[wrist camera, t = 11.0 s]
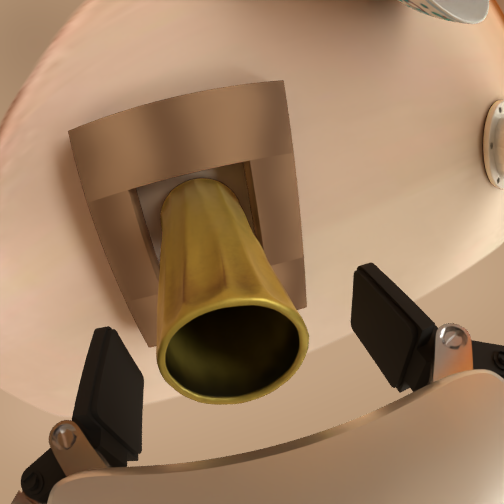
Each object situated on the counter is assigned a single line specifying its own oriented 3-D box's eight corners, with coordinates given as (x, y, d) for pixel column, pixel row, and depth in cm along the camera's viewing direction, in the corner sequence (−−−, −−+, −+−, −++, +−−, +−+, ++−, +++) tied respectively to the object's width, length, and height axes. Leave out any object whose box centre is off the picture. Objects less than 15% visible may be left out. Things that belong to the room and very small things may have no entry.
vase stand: (271, 84, 18) (283, 80, 16) (296, 291, 27) (306, 306, 24) (80, 129, 16) (68, 131, 14) (149, 328, 25) (148, 347, 23)
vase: (203, 268, 23) (237, 424, 11) (143, 221, 21) (108, 371, 8) (256, 214, 22) (351, 340, 10) (199, 160, 20) (235, 240, 7)
